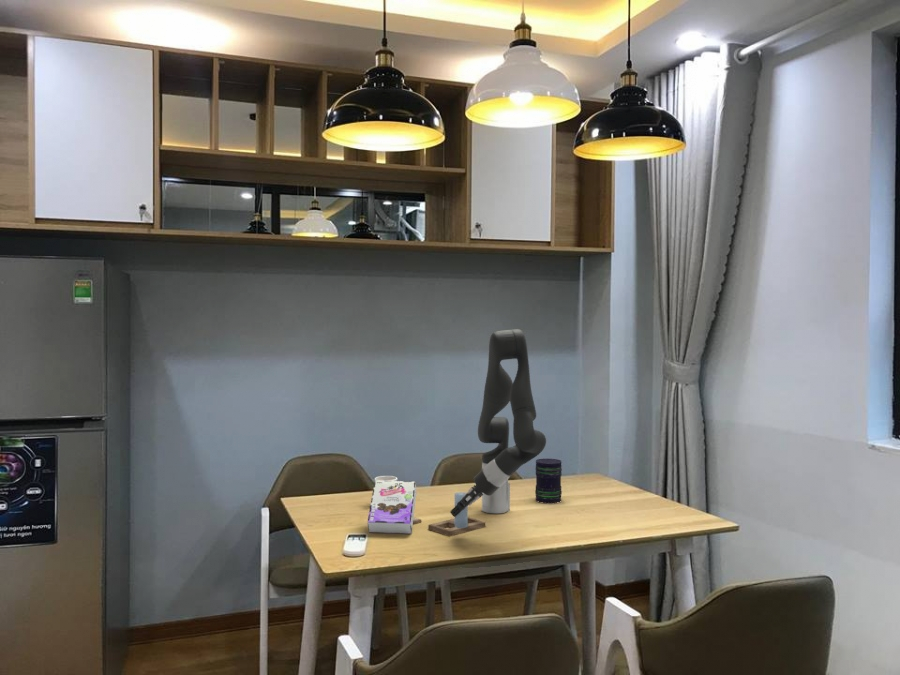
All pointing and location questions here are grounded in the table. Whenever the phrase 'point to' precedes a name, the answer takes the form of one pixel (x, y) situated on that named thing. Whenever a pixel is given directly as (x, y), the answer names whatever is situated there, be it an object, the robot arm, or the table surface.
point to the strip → (416, 520)
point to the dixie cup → (386, 478)
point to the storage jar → (548, 480)
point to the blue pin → (462, 517)
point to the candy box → (392, 507)
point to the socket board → (454, 530)
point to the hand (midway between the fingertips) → (455, 512)
